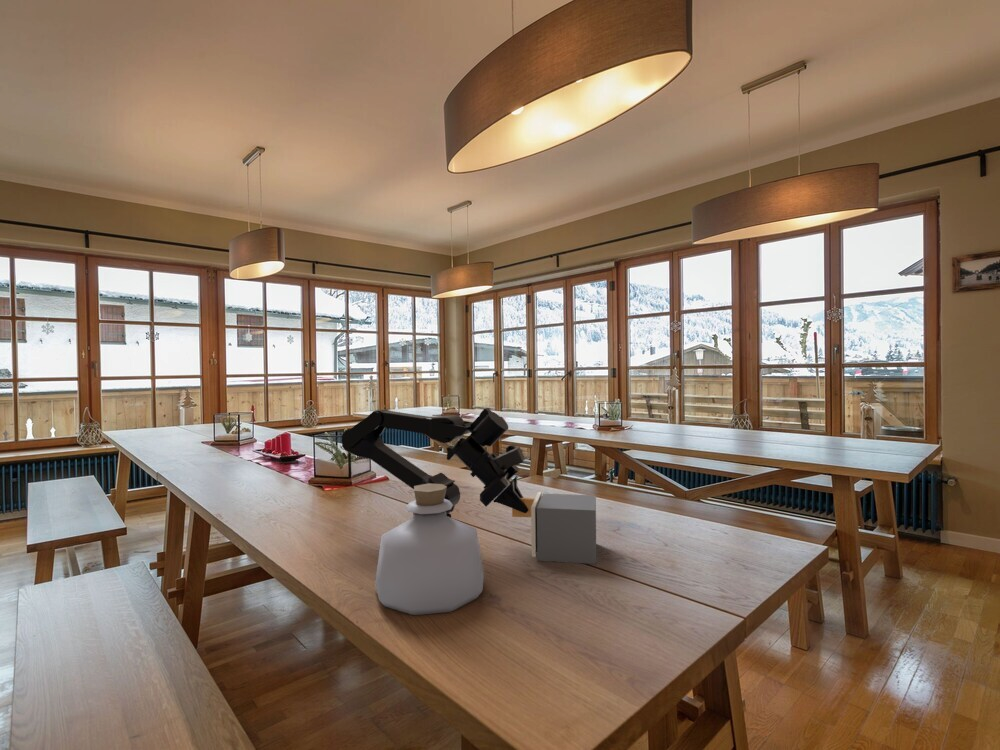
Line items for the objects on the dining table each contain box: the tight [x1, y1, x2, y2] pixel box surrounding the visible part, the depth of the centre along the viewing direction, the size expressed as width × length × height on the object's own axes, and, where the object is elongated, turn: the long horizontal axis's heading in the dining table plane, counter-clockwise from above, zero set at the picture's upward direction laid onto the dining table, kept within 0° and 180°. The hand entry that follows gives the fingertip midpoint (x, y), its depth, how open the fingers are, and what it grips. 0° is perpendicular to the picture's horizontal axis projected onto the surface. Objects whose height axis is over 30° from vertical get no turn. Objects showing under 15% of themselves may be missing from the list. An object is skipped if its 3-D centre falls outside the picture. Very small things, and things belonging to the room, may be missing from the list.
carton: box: [536, 493, 597, 565], centre depth 109 cm, size 12×12×11 cm
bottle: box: [374, 483, 485, 616], centre depth 91 cm, size 20×20×19 cm
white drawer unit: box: [511, 491, 543, 558], centre depth 109 cm, size 17×13×10 cm
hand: (527, 510), depth 110 cm, fingers closed on white drawer unit
